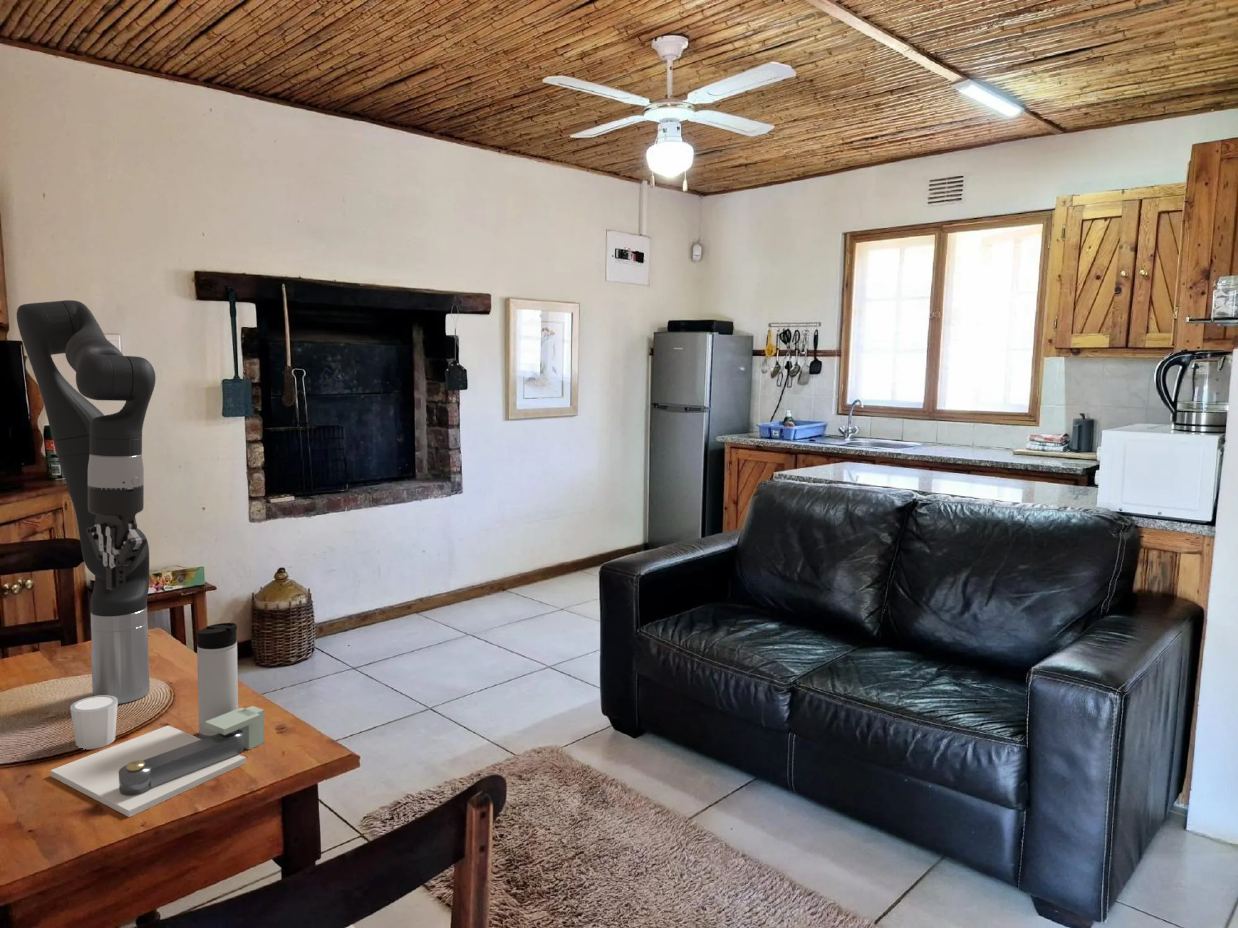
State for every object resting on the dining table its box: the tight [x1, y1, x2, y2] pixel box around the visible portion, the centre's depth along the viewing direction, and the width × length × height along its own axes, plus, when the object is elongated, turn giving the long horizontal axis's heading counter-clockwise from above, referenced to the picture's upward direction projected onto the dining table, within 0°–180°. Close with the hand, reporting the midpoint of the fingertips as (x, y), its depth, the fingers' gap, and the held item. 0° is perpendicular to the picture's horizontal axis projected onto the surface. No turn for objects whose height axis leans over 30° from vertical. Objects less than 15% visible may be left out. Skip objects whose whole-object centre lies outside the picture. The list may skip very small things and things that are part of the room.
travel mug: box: [196, 622, 239, 739], centre depth 142 cm, size 6×7×20 cm
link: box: [119, 729, 244, 795], centre depth 128 cm, size 19×4×4 cm, turn 145°
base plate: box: [50, 725, 247, 818], centre depth 130 cm, size 21×19×1 cm
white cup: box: [70, 695, 119, 750], centre depth 138 cm, size 7×7×7 cm
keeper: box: [205, 705, 265, 750], centre depth 137 cm, size 5×8×6 cm, turn 151°
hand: (116, 588), depth 130 cm, fingers closed
